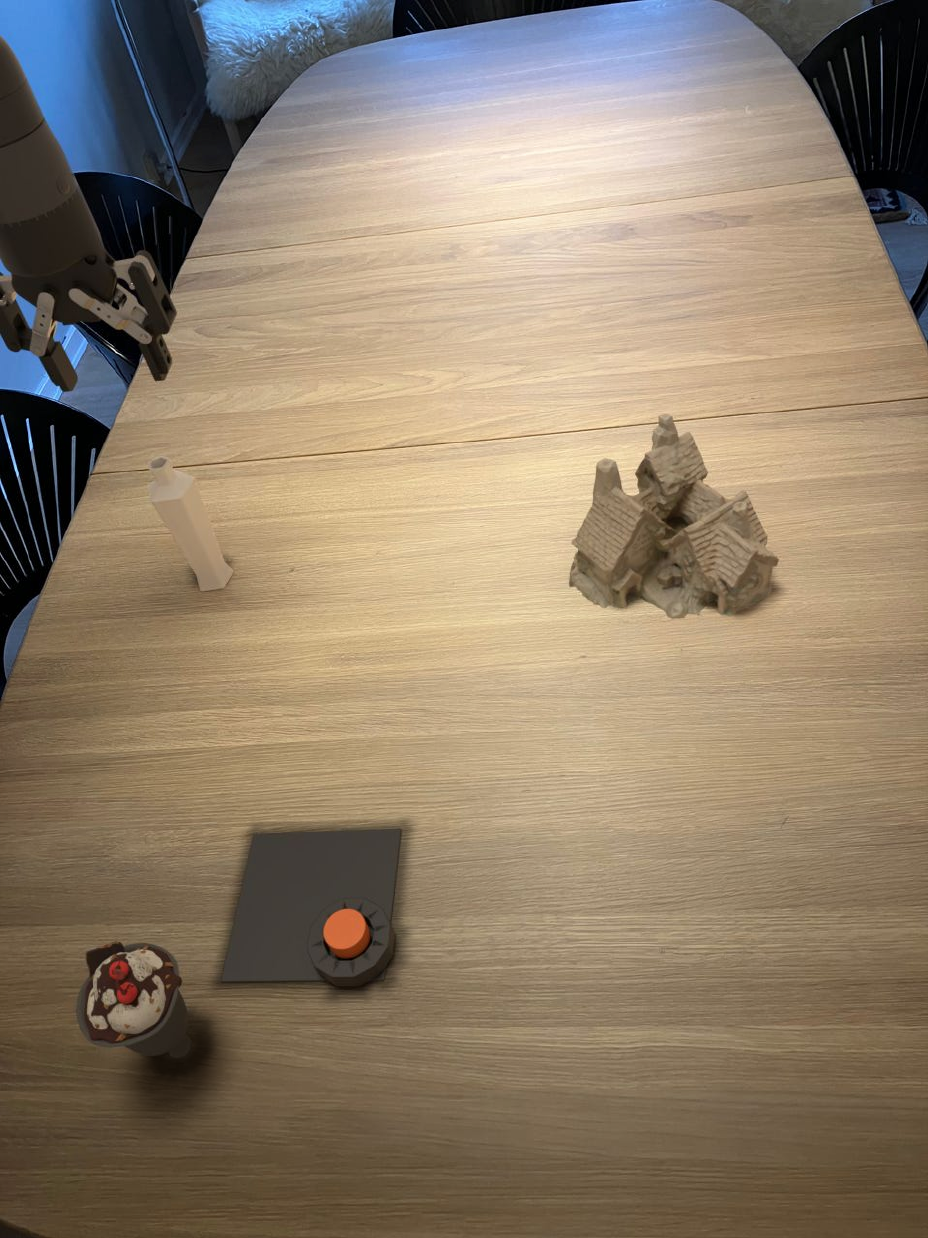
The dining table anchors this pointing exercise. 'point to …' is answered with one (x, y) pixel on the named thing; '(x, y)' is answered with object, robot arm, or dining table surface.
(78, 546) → the dining table surface
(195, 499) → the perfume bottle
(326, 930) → the button
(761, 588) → the ceramic cottage
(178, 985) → the sundae
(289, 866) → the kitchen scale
